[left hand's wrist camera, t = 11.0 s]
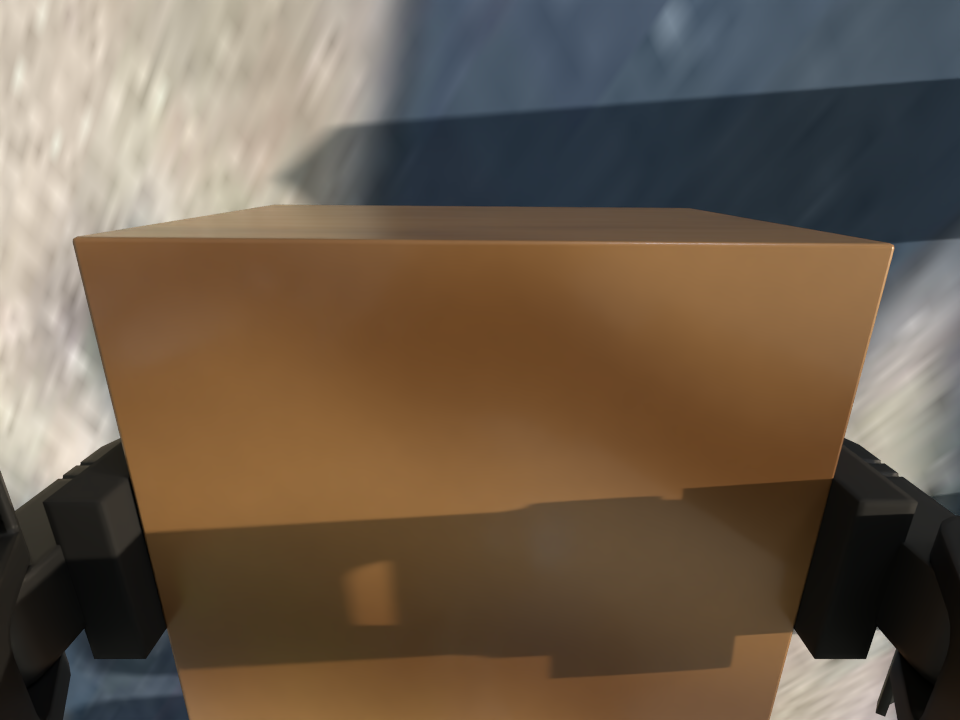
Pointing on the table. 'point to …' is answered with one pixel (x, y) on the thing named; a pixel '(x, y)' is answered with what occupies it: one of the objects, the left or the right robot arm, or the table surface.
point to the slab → (480, 452)
